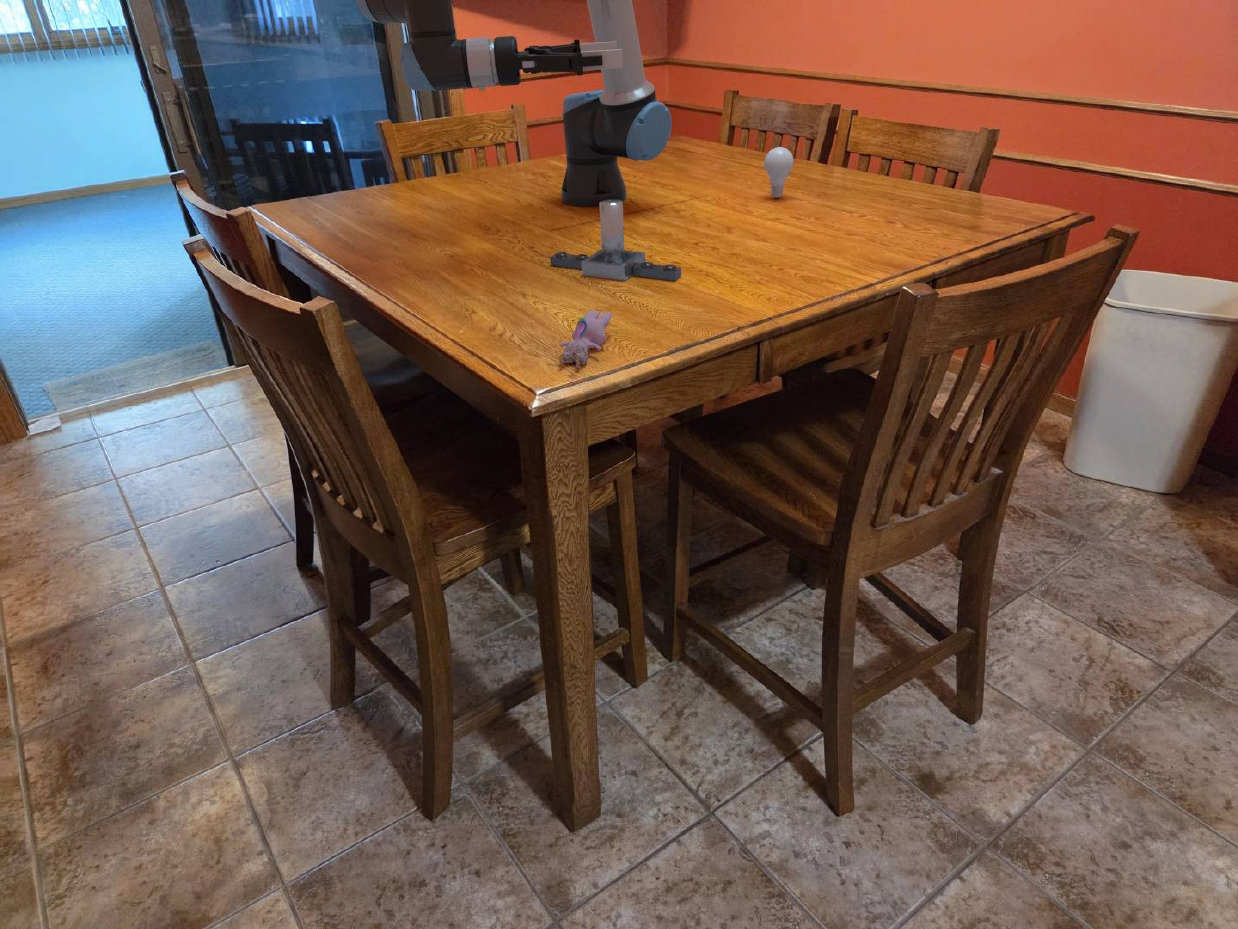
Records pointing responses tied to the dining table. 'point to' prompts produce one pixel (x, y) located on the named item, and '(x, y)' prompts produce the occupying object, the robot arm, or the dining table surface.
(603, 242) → the pin
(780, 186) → the lightbulb
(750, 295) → the dining table surface
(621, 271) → the grey mounting bracket
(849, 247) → the dining table surface
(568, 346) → the purple toy figure
